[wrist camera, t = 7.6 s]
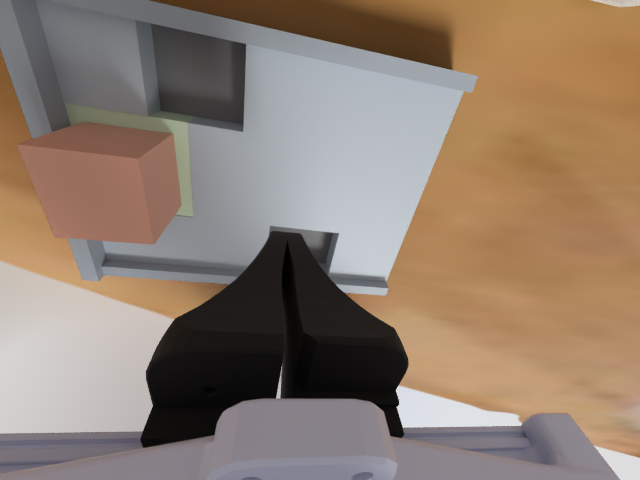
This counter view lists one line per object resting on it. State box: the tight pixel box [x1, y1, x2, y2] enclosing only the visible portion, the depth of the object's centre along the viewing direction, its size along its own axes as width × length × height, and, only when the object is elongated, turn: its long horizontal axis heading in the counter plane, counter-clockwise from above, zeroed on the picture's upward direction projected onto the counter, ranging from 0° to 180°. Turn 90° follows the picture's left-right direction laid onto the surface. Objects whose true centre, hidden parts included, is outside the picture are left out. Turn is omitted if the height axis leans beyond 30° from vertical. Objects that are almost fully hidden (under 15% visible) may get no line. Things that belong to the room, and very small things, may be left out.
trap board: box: [0, 0, 478, 295], centre depth 18 cm, size 16×22×3 cm
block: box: [17, 122, 182, 245], centre depth 15 cm, size 4×4×4 cm
